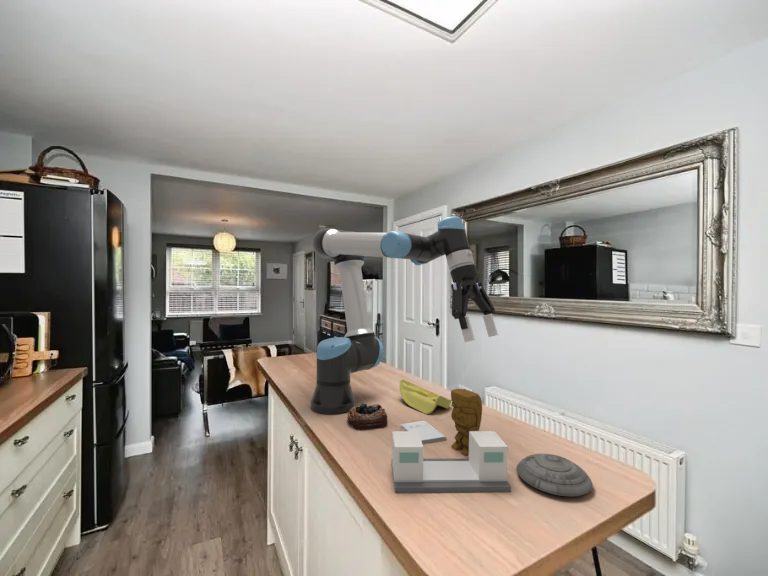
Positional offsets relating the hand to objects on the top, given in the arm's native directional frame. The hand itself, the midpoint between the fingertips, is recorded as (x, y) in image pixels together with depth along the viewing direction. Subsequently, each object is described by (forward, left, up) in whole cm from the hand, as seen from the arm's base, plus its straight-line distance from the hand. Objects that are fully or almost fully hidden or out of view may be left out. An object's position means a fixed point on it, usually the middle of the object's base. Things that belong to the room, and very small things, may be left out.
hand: (482, 338), depth 99 cm
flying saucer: (+22, +9, -28) cm, 37 cm away
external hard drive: (-3, -16, -29) cm, 33 cm away
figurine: (+7, -6, -28) cm, 30 cm away
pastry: (-11, -32, -28) cm, 44 cm away
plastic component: (-28, -12, -28) cm, 41 cm away
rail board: (+20, -14, -28) cm, 37 cm away
